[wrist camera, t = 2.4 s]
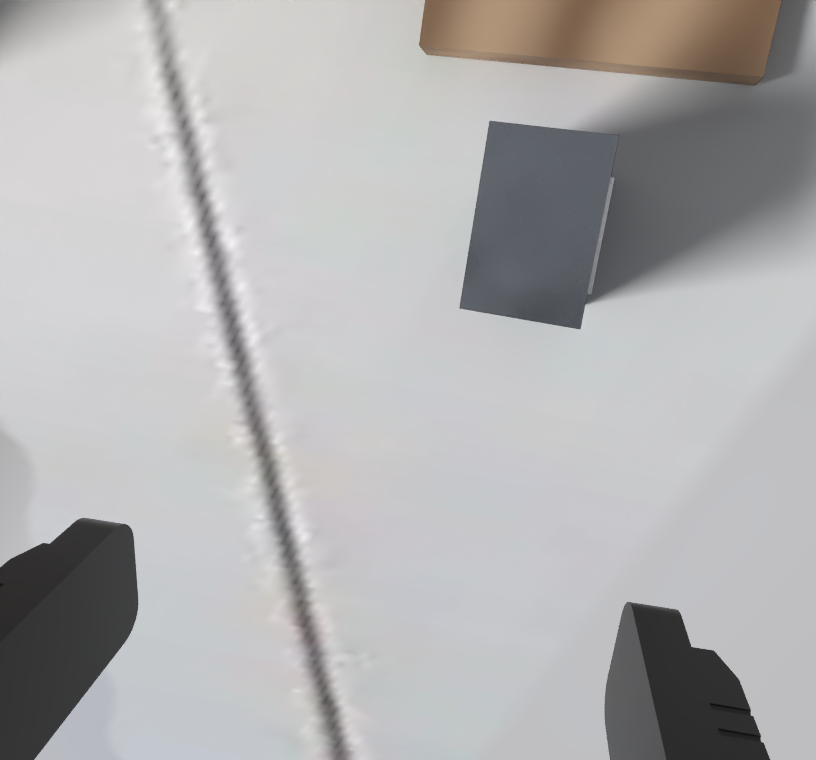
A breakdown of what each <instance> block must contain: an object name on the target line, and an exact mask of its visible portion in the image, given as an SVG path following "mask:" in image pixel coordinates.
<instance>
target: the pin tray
mask: <svg viewBox="0 0 816 760" xmlns="http://www.w3.org/2000/svg"><path fill="white" fill-rule="evenodd" d="M781 1H782V0H425V6H424V13H423V21H422V28H421V35H420V42H419V46H420V47H421V48H422V50H423V51H424V52H425V53H426V54H427V55H436V56H447V57H457V58H468V59H479V60H489V61H500V62H511V63H521V64H532V65H543V66H553V67H564V68H575V69H585V70H596V71H607V72H617V73H628V74H639V75H649V76H660V77H671V78H681V79H692V80H703V81H713V82H724V83H735V84H745V85H756V84H757V83H758V82H759V81H760V80H761V79H762V78H763V76H764V72H765V68H766V64H767V60H768V55H769V51H770V47H771V43H772V39H773V35H774V30H775V26H776V22H777V18H778V14H779V10H780V5H781Z"/></svg>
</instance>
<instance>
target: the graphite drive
mask: <svg viewBox="0 0 816 760" xmlns="http://www.w3.org/2000/svg"><path fill="white" fill-rule="evenodd" d="M618 138H619V135H610V134H602V133H593V132H584V131H575V130H566V129H557V128H548V127H540V126H531V125H522V124H513V123H504V122H495V121H490V122H489V128H488V134H487V140H486V147H485V153H484V159H483V165H482V171H481V178H480V184H479V190H478V196H477V203H476V209H475V215H474V221H473V227H472V234H471V240H470V246H469V252H468V258H467V265H466V271H465V277H464V283H463V289H462V296H461V302H460V309H466V310H472V311H478V312H483V313H489V314H495V315H501V316H506V317H512V318H518V319H524V320H530V321H535V322H541V323H547V324H553V325H558V326H564V327H570V328H576V329H580V328H581V323H582V318H583V313H584V308H585V303H586V298H587V294H589V295H591V293H592V288H593V283H594V279H595V274H596V269H597V264H598V259H599V254H600V249H601V244H602V239H603V234H604V229H605V224H606V219H607V214H608V209H609V204H610V199H611V194H612V189H613V184H614V179H615V177H611V173H612V168H613V163H614V158H615V153H616V148H617V143H618Z"/></svg>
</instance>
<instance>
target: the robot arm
mask: <svg viewBox="0 0 816 760" xmlns="http://www.w3.org/2000/svg"><path fill="white" fill-rule="evenodd" d="M137 610H138V591H137V577H136V564H135V550H134V538H133V532H132V530H131V528H130V527H129V526H128V525H126V524H120V523H114V522H107V521H101V520H95V519H88V518H81V519H79V520H77V521H76V522H74V523H73V524H72V525H71V526H70V527H69V528H67V529H66V530H65V531H64V532H63V533H62V534H61V535H59V536H58V537H57V538H56V539H55V540H54V541H53V542H52V543H50V544H46V543H42V544H40V545H38V546H36V547H34V548H32V549H30V550H28V551H26V552H24V553H22V554H20V555H18V556H16V557H14V558H12V559H10V560H9V561H7V562H6V563H5V564H4V565H3V566H2V567H0V760H34V759H35V758H36V757H37V755H38V754H39V753H40V751H41V750H42V749H43V747H44V746H45V745H46V744H47V742H48V741H49V740H50V738H51V737H52V736H53V734H54V733H55V732H56V731H57V729H58V728H59V727H60V725H61V724H62V723H63V721H64V720H65V719H66V718H67V716H68V715H69V714H70V713H71V711H72V710H73V708H74V707H75V706H76V705H77V703H78V702H79V701H80V699H81V698H82V697H83V696H84V694H85V693H86V692H87V691H88V689H89V688H90V687H91V685H92V684H93V683H94V681H95V680H96V679H97V678H98V676H99V675H100V674H101V672H102V671H103V670H104V669H105V667H106V666H107V665H108V663H109V662H110V661H111V660H112V658H113V657H114V656H115V654H116V653H117V652H118V651H119V649H120V648H121V647H122V645H123V644H124V643H125V641H126V640H127V638H128V637H129V635H130V633H131V631H132V628H133V626H134V623H135V620H136V616H137ZM750 711H751V710H750V707H749V704H748V702H747V699H746V697H745V694H744V691H743V689H742V686H741V684H740V681H739V679H738V678H737V677H736V676H735V674H734V673H733V672H732V671H731V670H730V669H729V668H728V666H727V665H726V664H725V663H724V662H723V661H722V660H721V658H720V657H719V656H718V655H717V654H716V653H715V652H714V651H712V650H706V649H699V648H693V647H691V644H690V641H689V639H688V635H687V632H686V629H685V626H684V623H683V619H682V617H681V614H680V612H679V611H678V610H676V609H669V608H663V607H657V606H650V605H644V604H638V603H631V602H627V603H626V604H625V606H624V609H623V612H622V616H621V620H620V625H619V629H618V634H617V638H616V643H615V647H614V652H613V657H612V661H611V665H610V670H609V674H608V679H607V685H606V693H605V725H606V732H607V740H608V748H609V755H610V760H770V758H769V756H768V753H767V751H766V748H765V745H764V743H762V742H761V740H760V737H761V735H760V733H759V730H758V728H757V725H756V722H755V720H754V717H753V716H751V714H750Z"/></svg>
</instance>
